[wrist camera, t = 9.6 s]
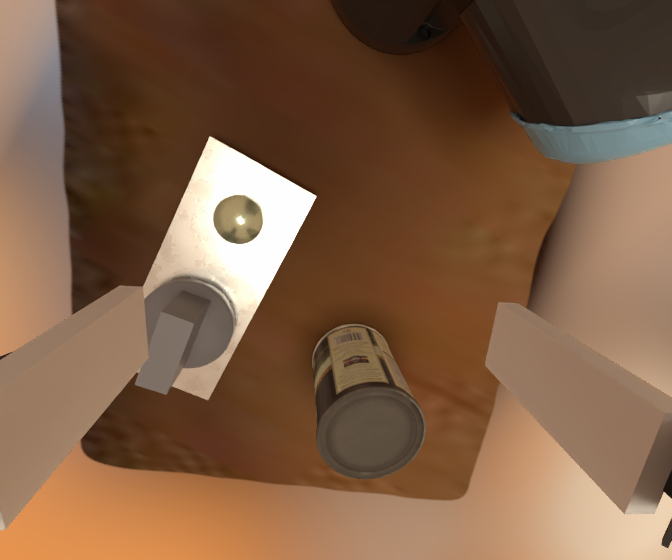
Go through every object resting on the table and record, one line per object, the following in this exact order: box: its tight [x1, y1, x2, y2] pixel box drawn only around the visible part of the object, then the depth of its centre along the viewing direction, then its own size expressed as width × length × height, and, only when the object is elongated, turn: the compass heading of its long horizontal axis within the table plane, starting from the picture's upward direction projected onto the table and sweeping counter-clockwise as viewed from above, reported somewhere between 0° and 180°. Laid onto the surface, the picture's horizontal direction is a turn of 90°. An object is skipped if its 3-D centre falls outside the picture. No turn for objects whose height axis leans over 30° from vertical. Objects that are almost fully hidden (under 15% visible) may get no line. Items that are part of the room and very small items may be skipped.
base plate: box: [137, 136, 316, 400], centre depth 40 cm, size 28×12×3 cm, turn 151°
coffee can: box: [312, 324, 426, 479], centre depth 39 cm, size 10×10×14 cm
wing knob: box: [135, 278, 235, 395], centre depth 36 cm, size 10×10×8 cm
